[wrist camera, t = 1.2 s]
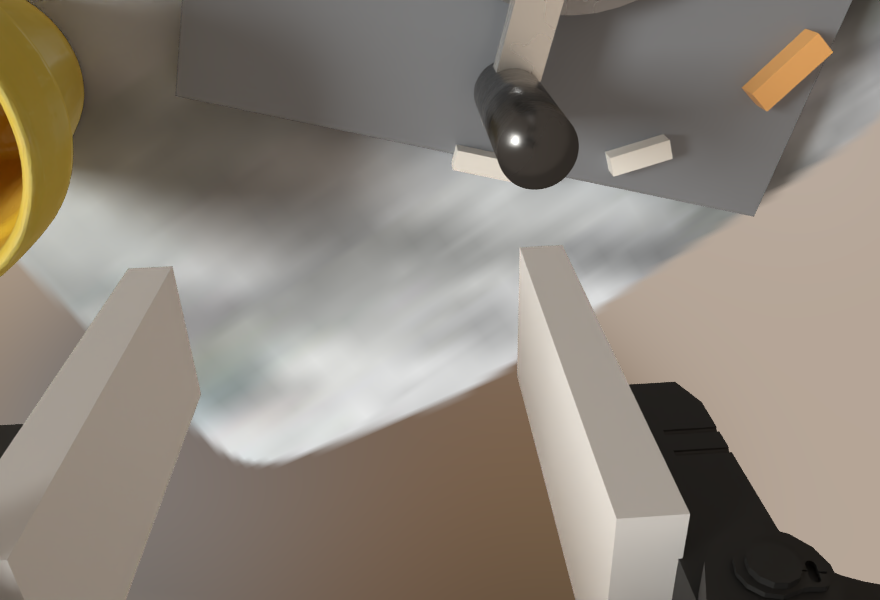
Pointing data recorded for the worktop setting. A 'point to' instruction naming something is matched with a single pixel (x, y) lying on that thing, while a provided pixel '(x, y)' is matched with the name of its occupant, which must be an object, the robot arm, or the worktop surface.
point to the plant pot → (34, 125)
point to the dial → (530, 94)
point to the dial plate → (565, 79)
